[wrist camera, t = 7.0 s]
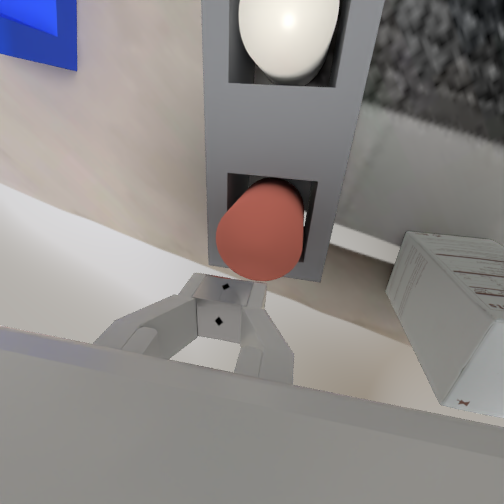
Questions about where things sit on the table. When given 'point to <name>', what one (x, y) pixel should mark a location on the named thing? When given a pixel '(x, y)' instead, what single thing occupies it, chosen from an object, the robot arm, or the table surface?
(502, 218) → the table surface
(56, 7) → the bracket
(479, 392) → the supplement box
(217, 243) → the red plug
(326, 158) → the block
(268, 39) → the plug
